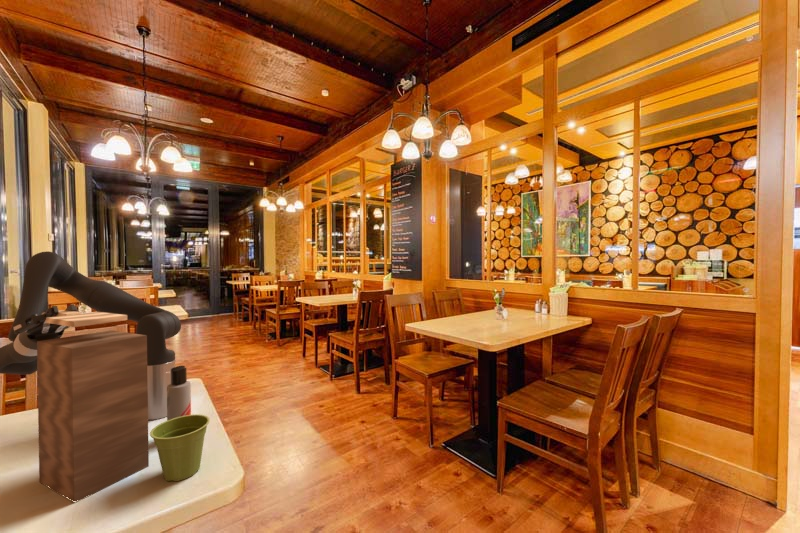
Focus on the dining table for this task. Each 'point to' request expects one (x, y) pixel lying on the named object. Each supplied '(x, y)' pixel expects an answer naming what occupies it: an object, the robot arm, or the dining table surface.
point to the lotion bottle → (178, 394)
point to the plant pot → (180, 445)
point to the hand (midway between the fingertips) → (64, 308)
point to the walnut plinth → (92, 411)
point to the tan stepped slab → (84, 318)
